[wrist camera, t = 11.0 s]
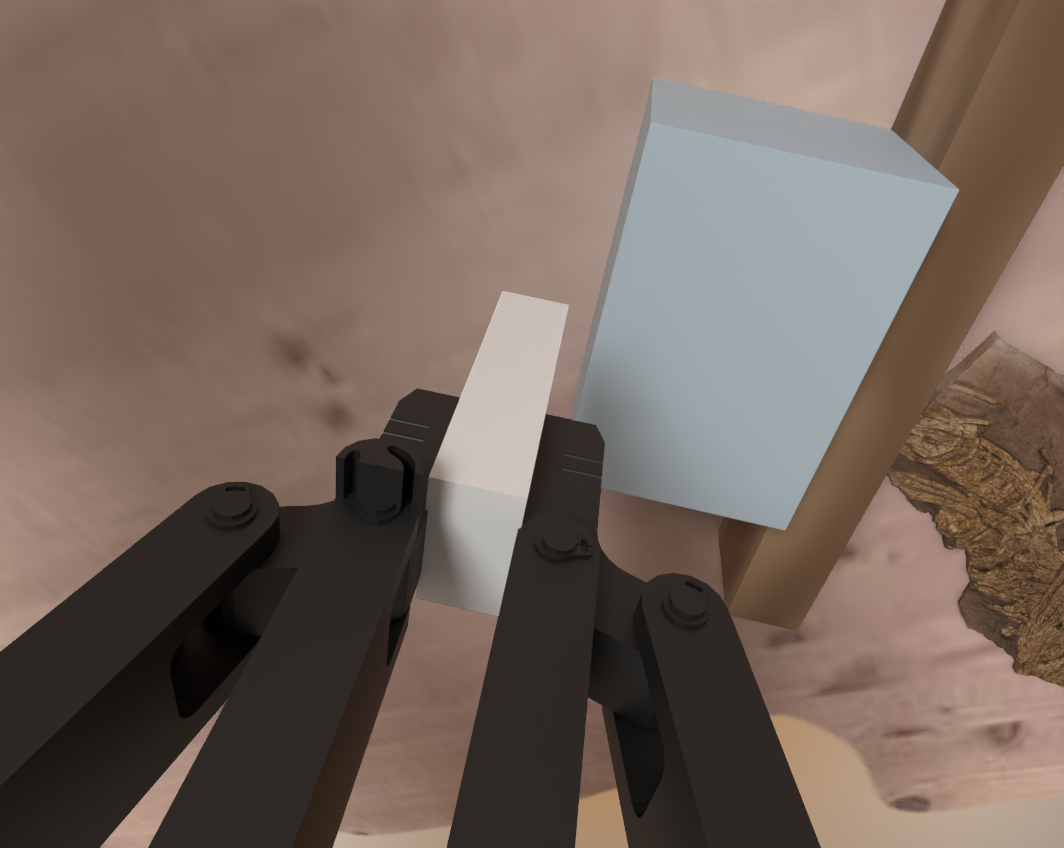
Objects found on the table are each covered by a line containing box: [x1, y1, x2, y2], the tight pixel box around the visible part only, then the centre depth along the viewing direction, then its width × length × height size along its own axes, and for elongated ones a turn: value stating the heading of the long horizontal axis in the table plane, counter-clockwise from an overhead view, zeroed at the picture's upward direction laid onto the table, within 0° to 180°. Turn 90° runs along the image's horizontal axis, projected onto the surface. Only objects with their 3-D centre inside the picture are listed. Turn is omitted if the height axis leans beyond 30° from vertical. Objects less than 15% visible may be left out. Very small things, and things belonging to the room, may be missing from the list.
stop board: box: [719, 0, 1064, 630], centre depth 25 cm, size 3×28×5 cm, turn 170°
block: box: [571, 77, 959, 530], centre depth 25 cm, size 8×12×7 cm, turn 170°
